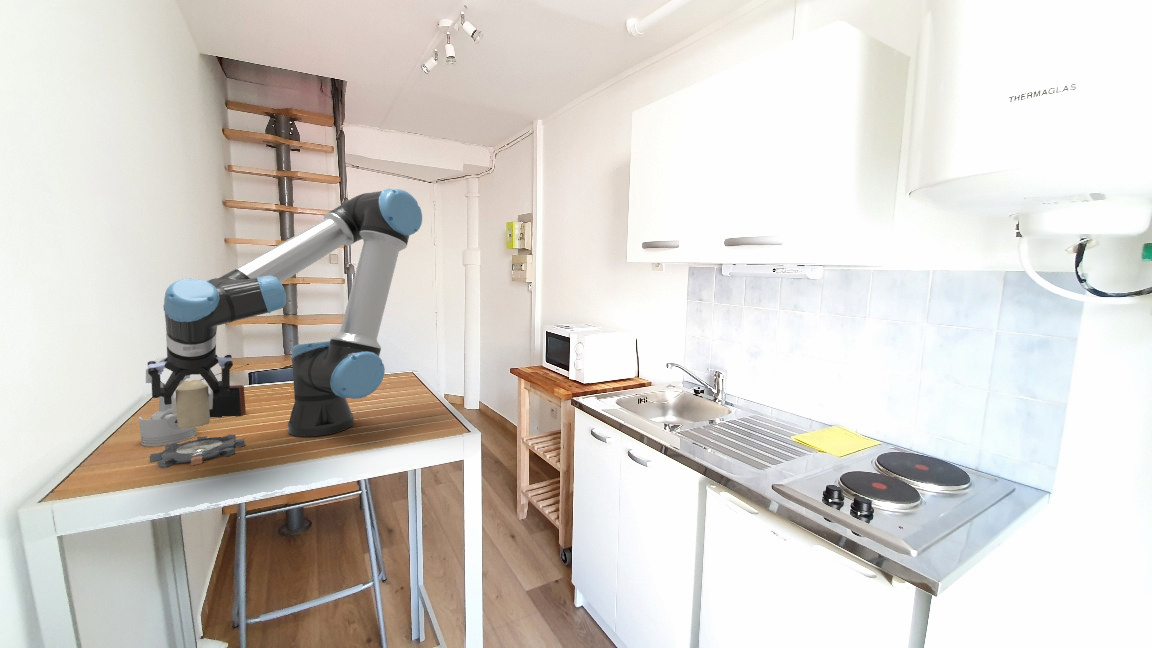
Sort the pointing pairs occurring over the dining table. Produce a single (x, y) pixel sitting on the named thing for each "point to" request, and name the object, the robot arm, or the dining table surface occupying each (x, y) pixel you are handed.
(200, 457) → the sprocket
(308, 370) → the robot arm
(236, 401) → the radio
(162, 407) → the engine component
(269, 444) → the dining table surface
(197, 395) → the candle
